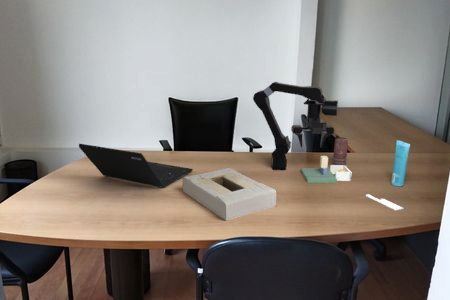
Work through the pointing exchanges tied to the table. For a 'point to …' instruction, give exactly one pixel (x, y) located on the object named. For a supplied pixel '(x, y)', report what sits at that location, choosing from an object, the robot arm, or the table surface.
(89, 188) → the table surface
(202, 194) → the box
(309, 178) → the panel
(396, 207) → the white plastic strip tool
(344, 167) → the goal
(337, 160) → the can
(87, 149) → the laptop
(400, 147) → the tube
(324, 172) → the beige and blue block
